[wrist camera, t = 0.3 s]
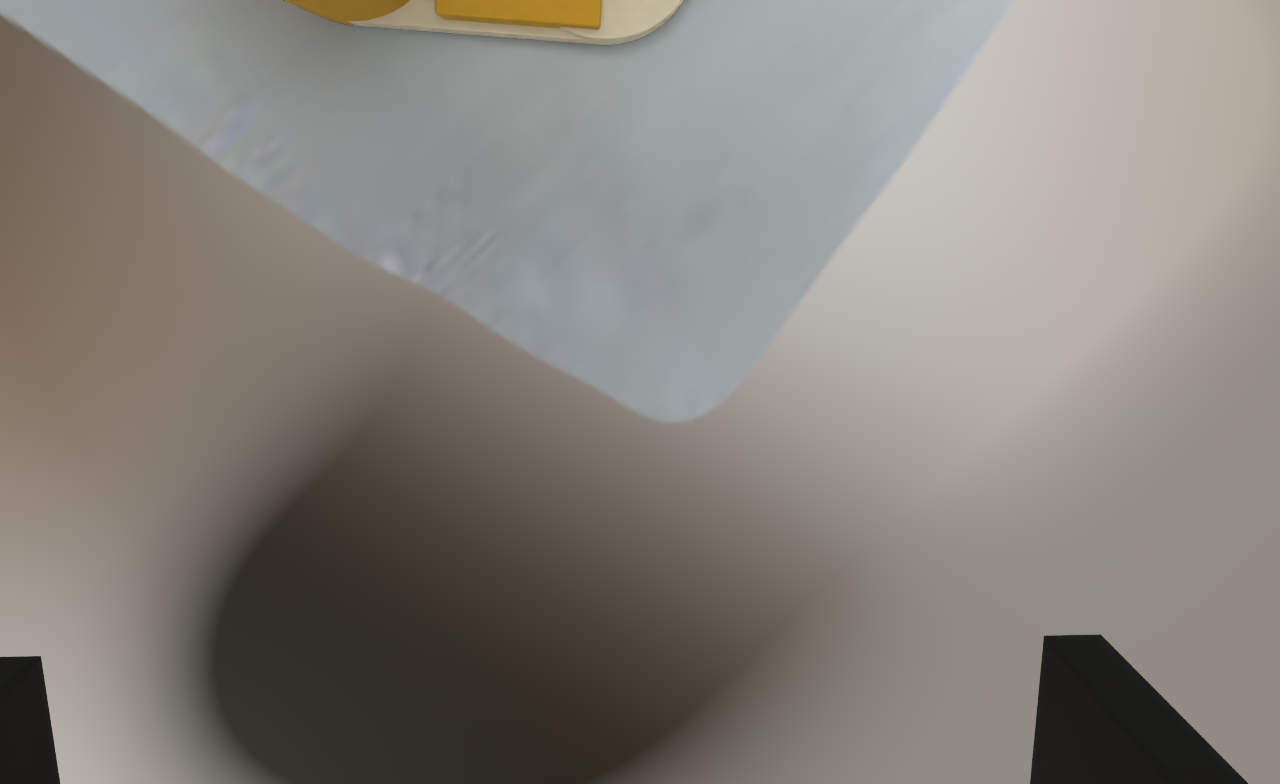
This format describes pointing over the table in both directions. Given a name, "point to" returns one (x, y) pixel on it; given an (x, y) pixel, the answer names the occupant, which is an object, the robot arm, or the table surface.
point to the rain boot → (507, 17)
